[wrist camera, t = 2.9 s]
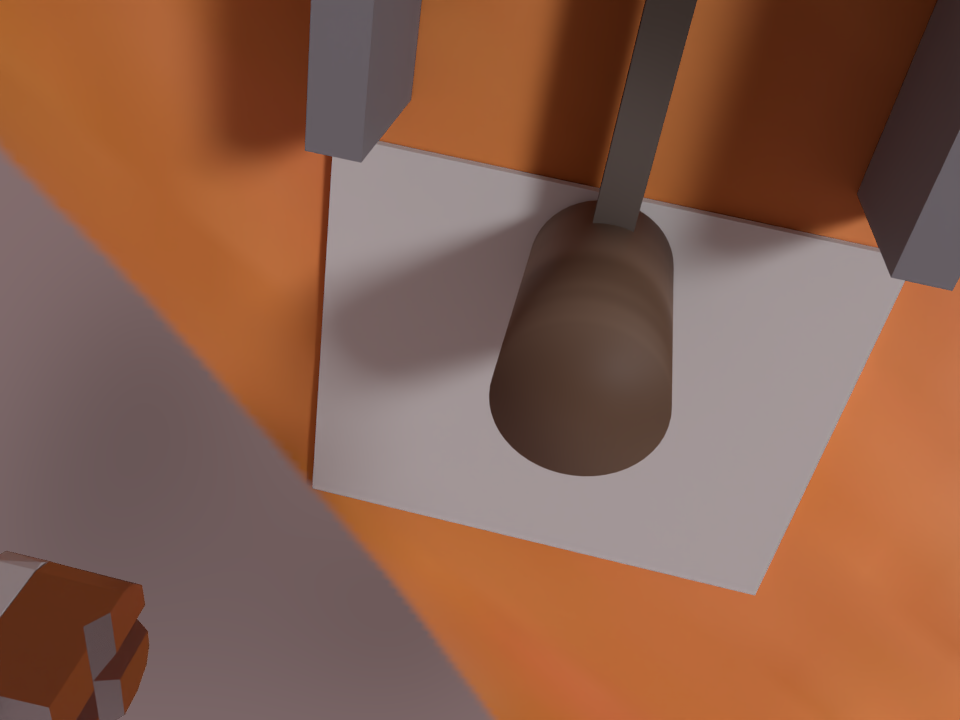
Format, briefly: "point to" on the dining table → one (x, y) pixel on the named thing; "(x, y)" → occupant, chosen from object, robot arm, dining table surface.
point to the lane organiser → (883, 192)
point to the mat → (478, 340)
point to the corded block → (600, 296)
